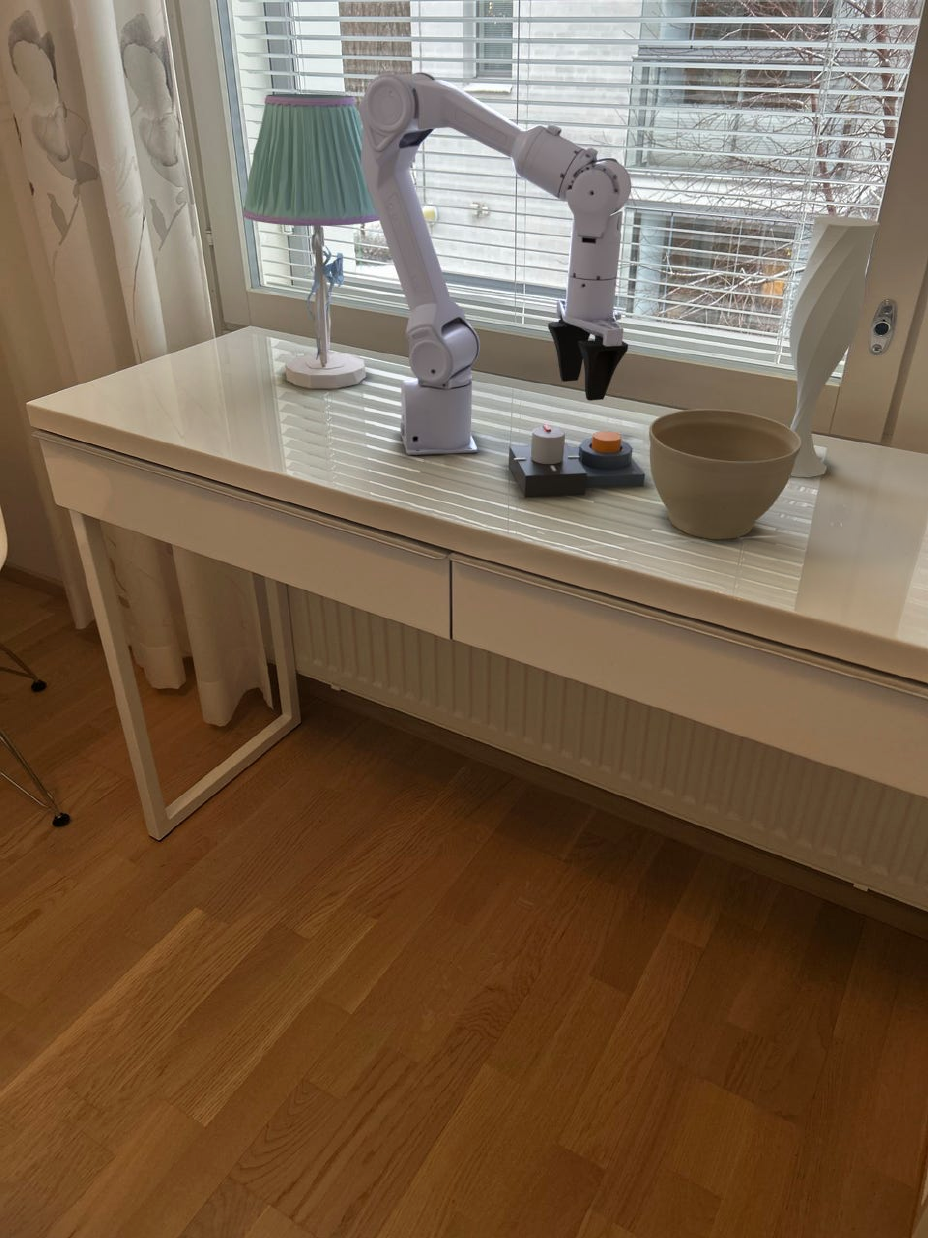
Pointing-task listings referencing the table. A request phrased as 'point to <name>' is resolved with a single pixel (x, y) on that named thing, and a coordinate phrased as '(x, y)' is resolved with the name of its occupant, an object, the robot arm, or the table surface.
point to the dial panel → (546, 474)
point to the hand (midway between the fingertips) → (581, 389)
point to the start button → (606, 442)
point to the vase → (826, 317)
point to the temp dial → (547, 445)
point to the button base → (609, 466)
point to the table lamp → (312, 204)
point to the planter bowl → (720, 468)
